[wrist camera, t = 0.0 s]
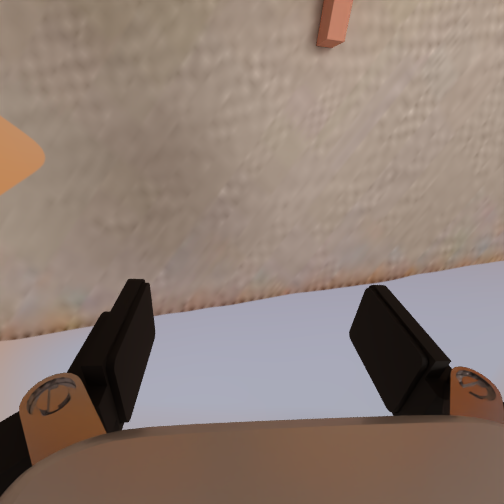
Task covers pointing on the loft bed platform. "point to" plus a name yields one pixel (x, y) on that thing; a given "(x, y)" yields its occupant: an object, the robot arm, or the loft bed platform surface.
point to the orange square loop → (334, 22)
